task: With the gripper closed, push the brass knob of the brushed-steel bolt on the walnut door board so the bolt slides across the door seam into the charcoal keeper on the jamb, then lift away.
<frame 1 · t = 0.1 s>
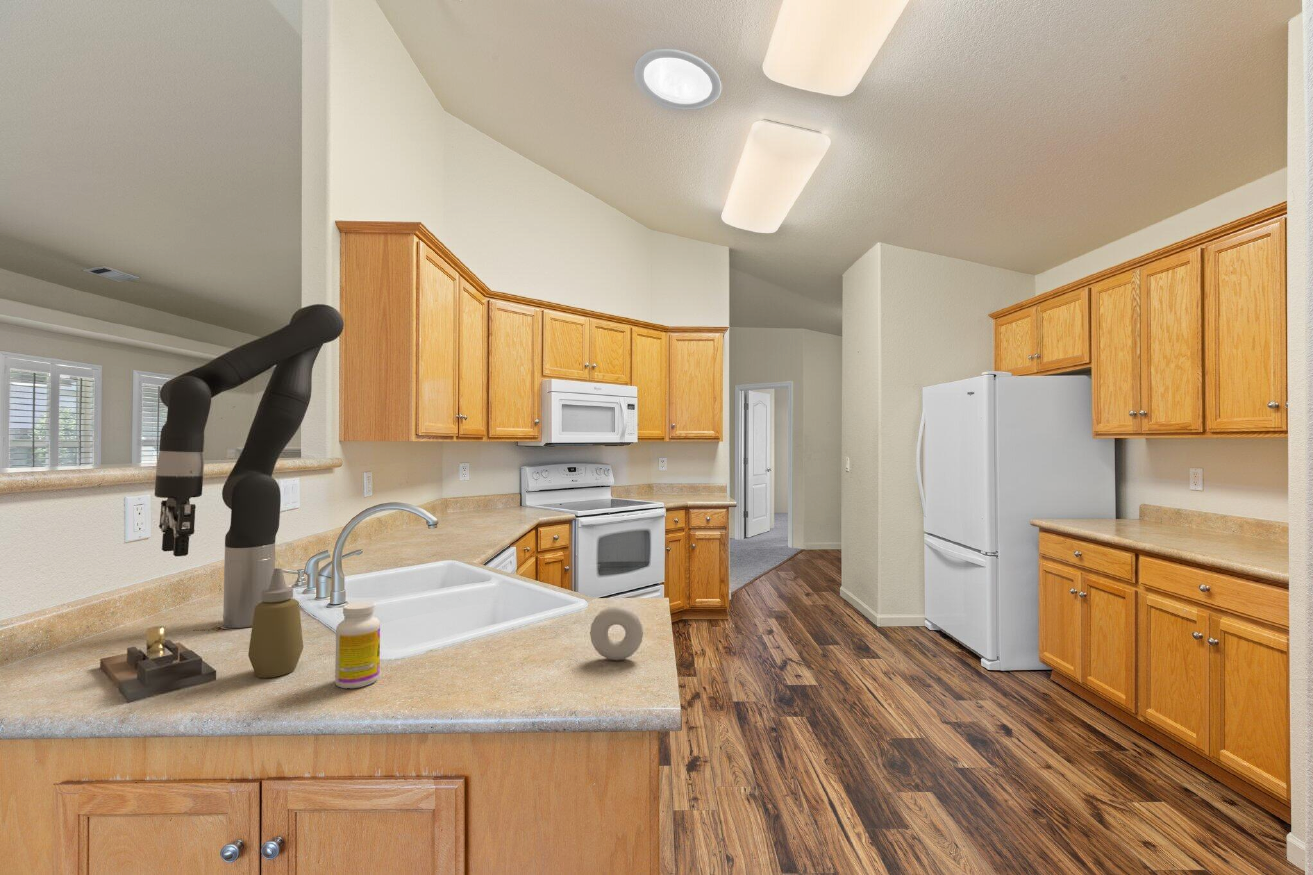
hand: (174, 553, 117), 17 cm above the countertop, tool pointing down, fingers open, 8 cm apart
supplement bottle: (357, 682, 97), on the countertop
squeeze bottle: (275, 673, 100), on the countertop
lock bolt: (155, 645, 100), point 5 cm above the countertop, slide at 0.0 cm
door board: (156, 673, 99), on the countertop
donut: (616, 660, 108), on the countertop
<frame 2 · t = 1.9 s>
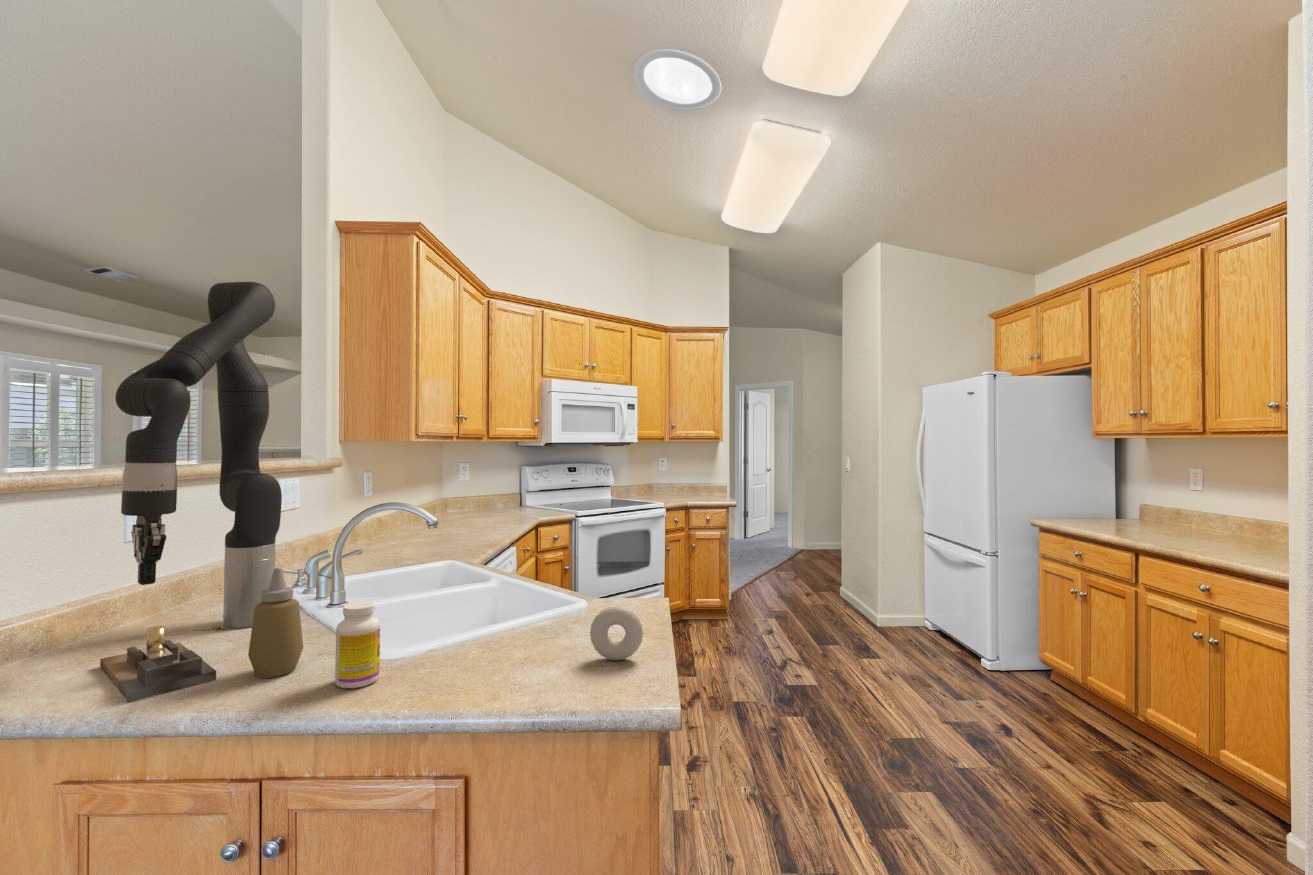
hand: (146, 583, 104), 14 cm above the countertop, tool pointing down, fingers closed
nothing on the countertop moved.
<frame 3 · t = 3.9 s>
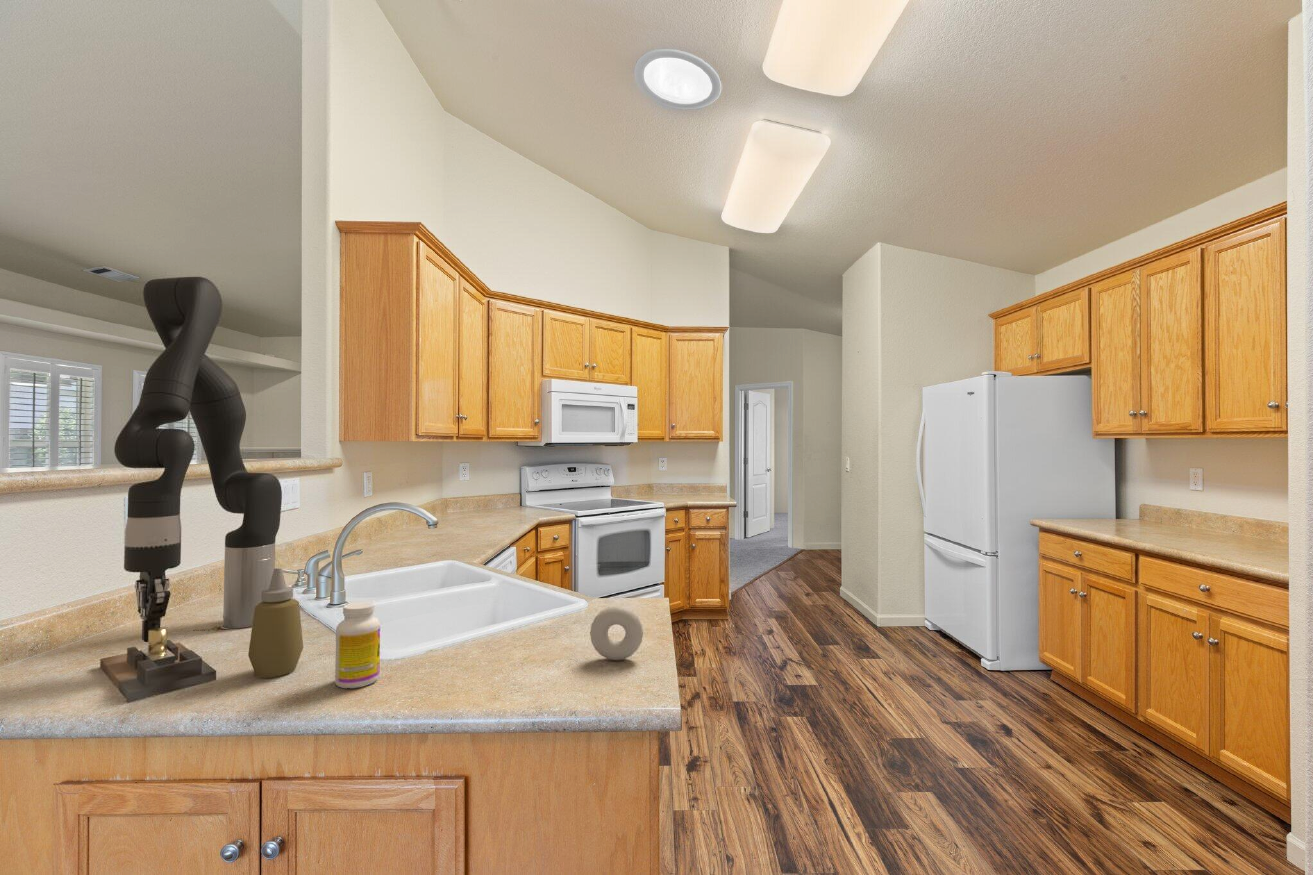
hand: (150, 640, 101), 5 cm above the countertop, tool pointing down, fingers closed
lock bolt: (157, 646, 99), point 5 cm above the countertop, slide at 1.1 cm, touching gripper
everything else where it was.
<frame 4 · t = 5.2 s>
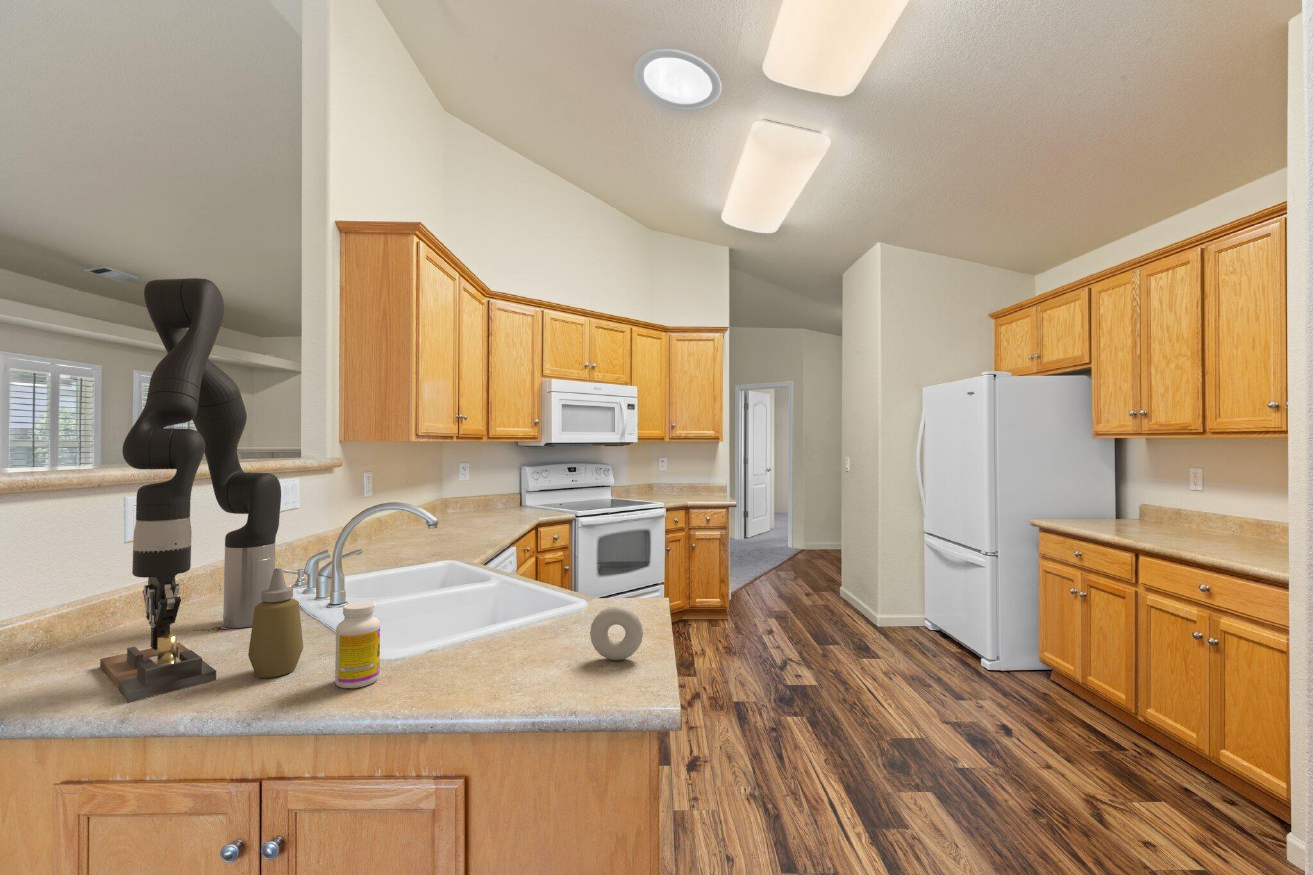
hand: (159, 647, 97), 5 cm above the countertop, tool pointing down, fingers closed
lock bolt: (166, 654, 95), point 5 cm above the countertop, slide at 7.0 cm, touching gripper
everything else where it was.
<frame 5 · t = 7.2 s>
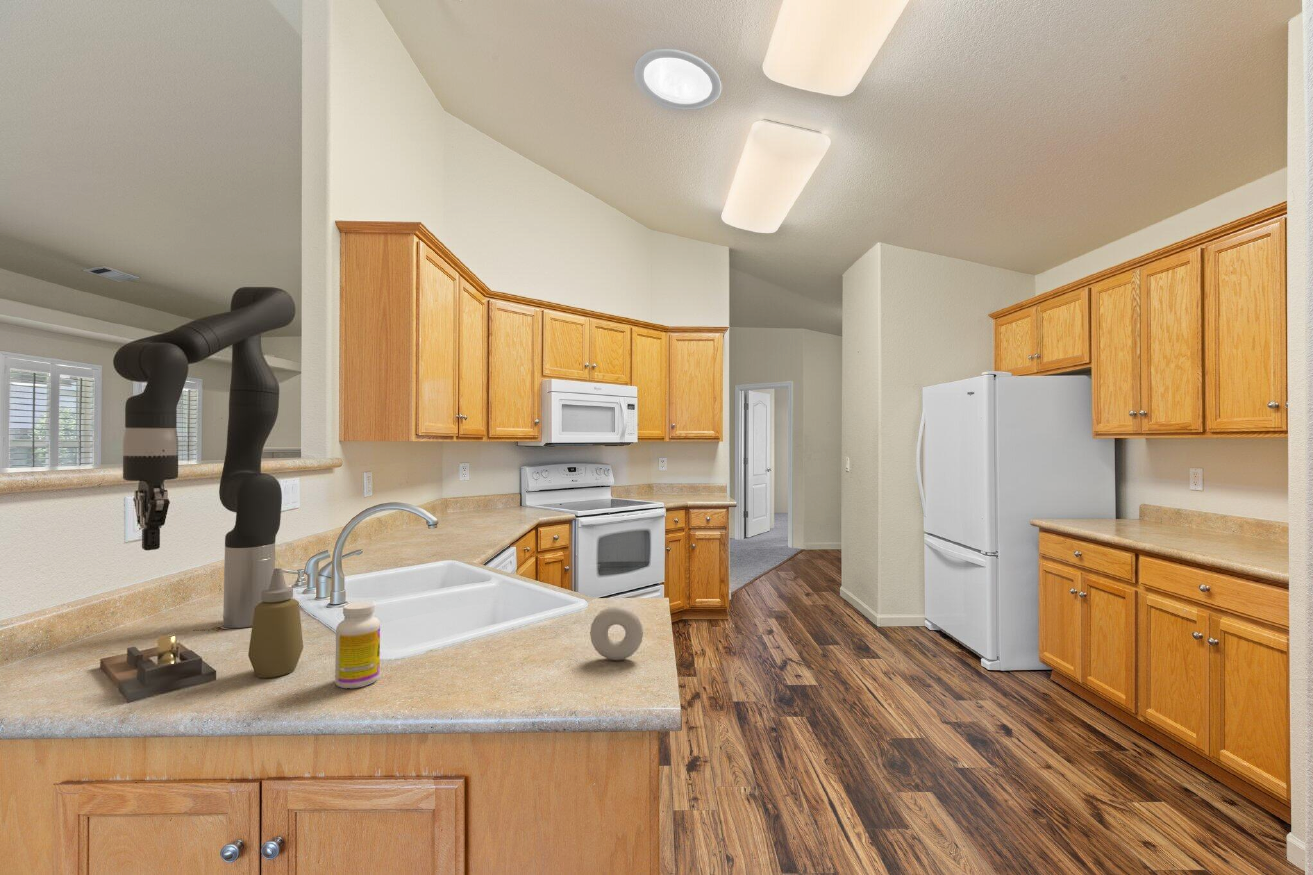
hand: (150, 549, 104), 21 cm above the countertop, tool pointing down, fingers closed
lock bolt: (166, 654, 95), point 5 cm above the countertop, slide at 7.0 cm
everything else where it was.
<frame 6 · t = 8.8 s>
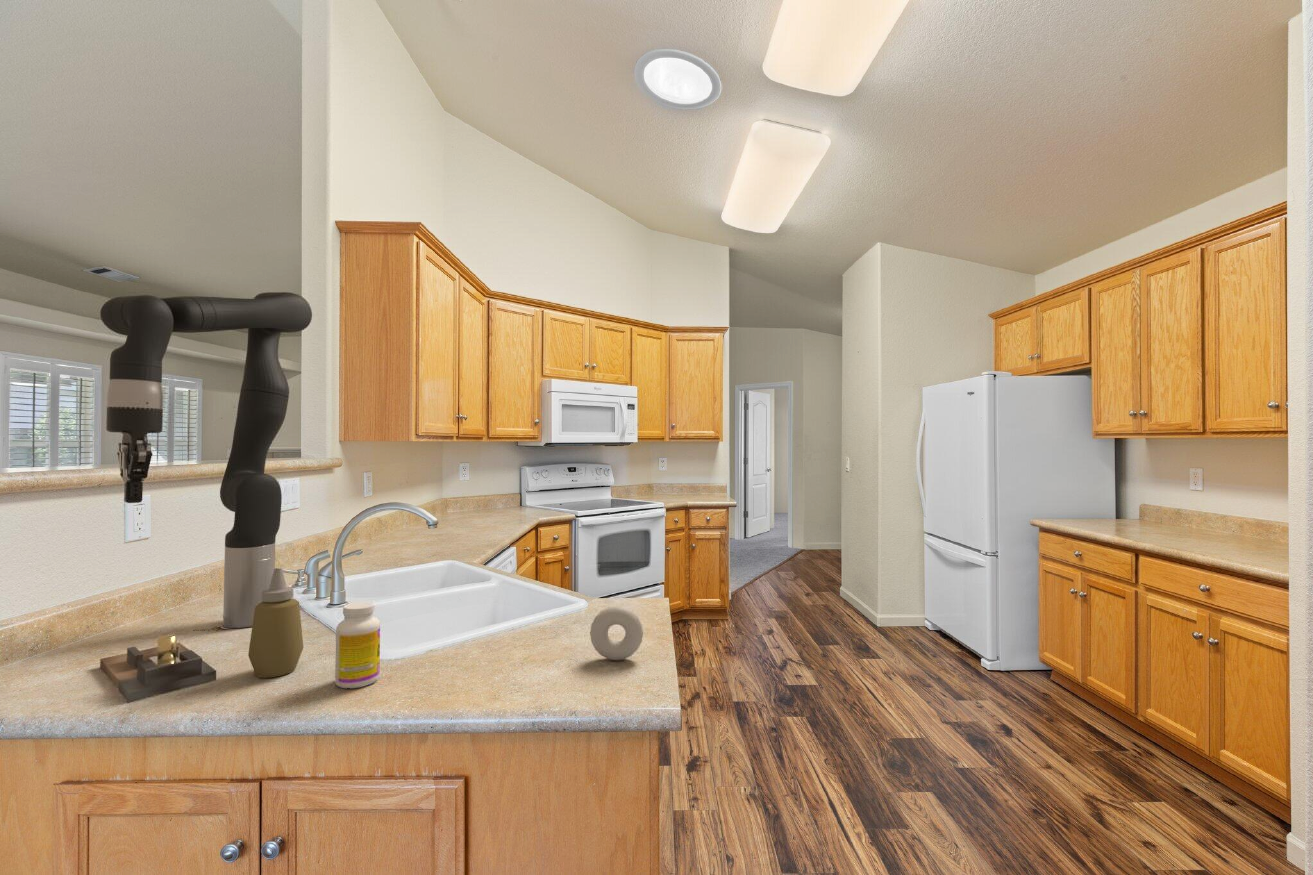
hand: (133, 502, 103), 29 cm above the countertop, tool pointing down, fingers closed
nothing on the countertop moved.
at the end: lock bolt slide at 7.0 cm; squeeze bottle moved 0.2 cm from its start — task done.
